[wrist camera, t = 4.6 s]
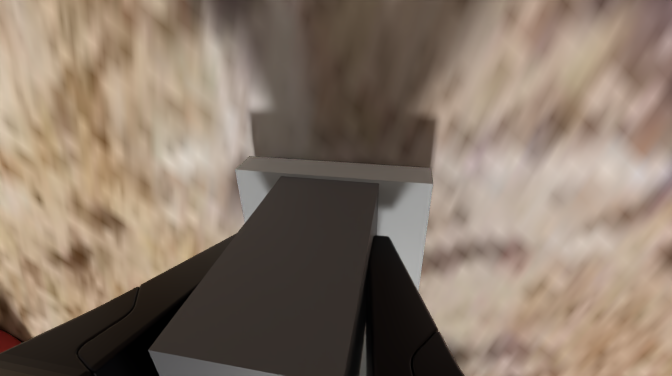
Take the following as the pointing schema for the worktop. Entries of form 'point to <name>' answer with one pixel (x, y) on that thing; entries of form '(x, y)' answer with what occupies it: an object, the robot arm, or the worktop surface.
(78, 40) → the worktop surface
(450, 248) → the worktop surface
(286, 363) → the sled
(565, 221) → the worktop surface
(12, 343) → the smoothie
